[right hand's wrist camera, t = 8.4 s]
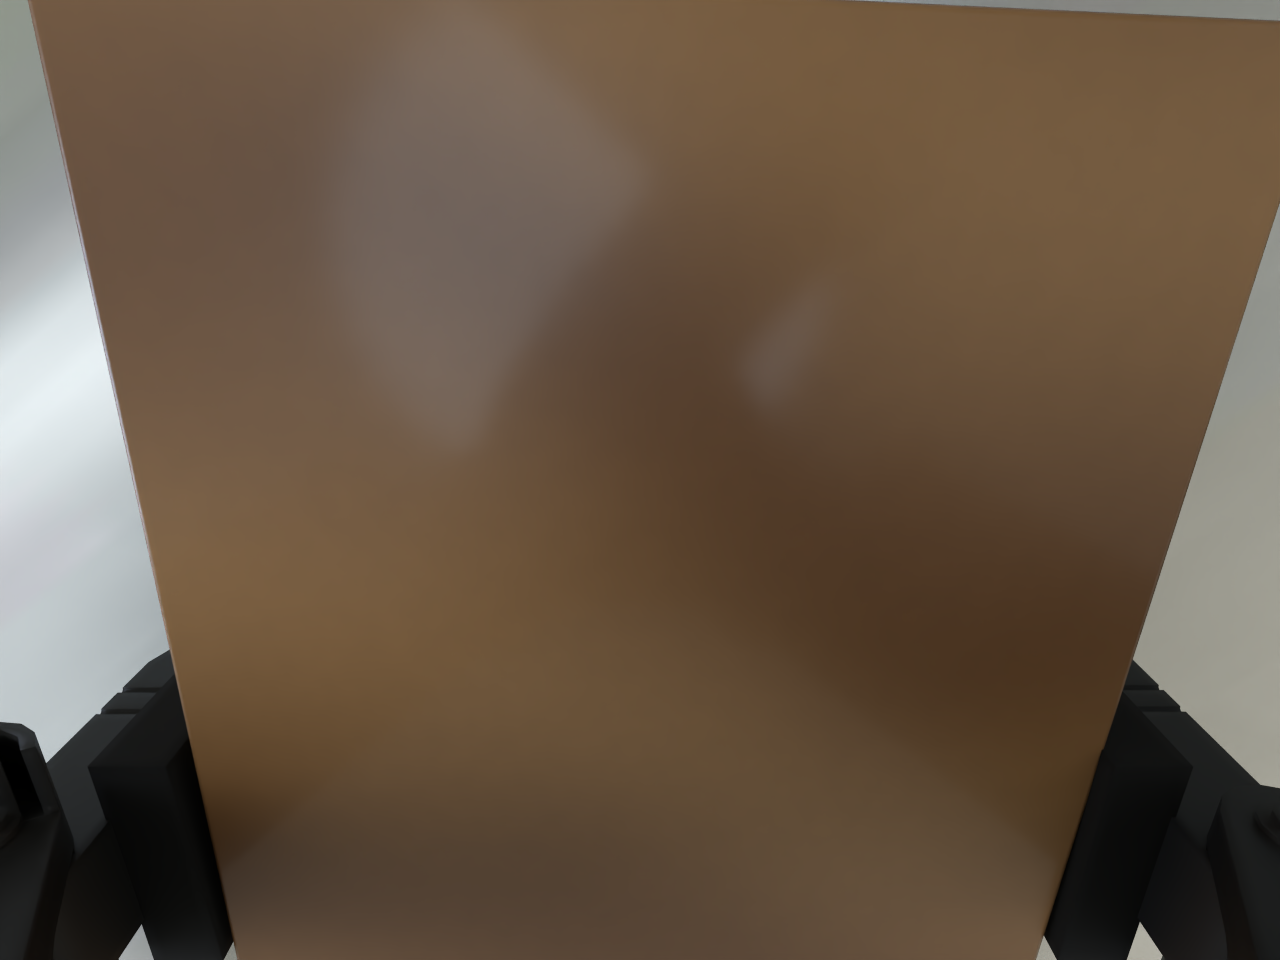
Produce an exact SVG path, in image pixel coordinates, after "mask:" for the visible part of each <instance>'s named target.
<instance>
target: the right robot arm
mask: <svg viewBox="0 0 1280 960" xmlns="http://www.w3.org/2000/svg"><path fill="white" fill-rule="evenodd" d="M1158 686H1159V685H1158V684H1157V683H1156V682H1155V681H1154V680H1153V679H1152V678H1151V677H1150V676H1149V675H1148V674H1147V673H1146V672H1145V671H1144V670H1143V669H1142V668H1141V667H1140V666H1139V665H1138V664H1137V663H1136V662H1135V661H1133V660H1132V663H1131V666H1130V669H1129V672H1128V675H1127V678H1126V681H1125V684H1124V687H1123V691H1122V694H1121V697H1120V700H1119V703H1118V706H1117V709H1116V712H1115V715H1114V719H1113V722H1112V725H1111V728H1110V731H1109V734H1108V737H1107V740H1106V743H1105V746H1104V749H1103V750H1102V751H1101V754H1100V758H1099V761H1098V765H1097V768H1096V771H1095V775H1094V778H1093V782H1092V785H1091V789H1090V792H1089V796H1088V799H1087V802H1086V805H1085V809H1084V812H1083V815H1082V818H1081V821H1080V824H1079V827H1078V830H1077V833H1076V837H1075V840H1074V843H1073V846H1072V849H1071V852H1070V855H1069V858H1068V861H1067V864H1066V868H1065V871H1064V874H1063V877H1062V880H1061V883H1060V886H1059V889H1058V892H1057V896H1056V899H1055V902H1054V905H1053V908H1052V911H1051V914H1050V917H1049V920H1048V923H1047V927H1046V930H1045V933H1044V936H1045V938H1046V940H1047V942H1048V944H1049V946H1050V948H1051V950H1052V951H1053V953H1054V955H1055V957H1056V959H1057V960H1127V957H1128V954H1129V951H1130V949H1131V946H1132V943H1133V940H1134V937H1135V934H1136V931H1137V928H1138V925H1139V923H1140V922H1141V924H1142V925H1143V927H1144V928H1145V930H1146V931H1147V933H1148V934H1149V936H1150V937H1151V939H1152V940H1153V942H1154V943H1155V945H1156V946H1157V948H1158V949H1159V951H1160V952H1161V954H1162V955H1163V956H1162V959H1161V960H1280V788H1275V787H1269V786H1264V785H1260V784H1259V783H1258V782H1257V781H1256V780H1255V779H1254V778H1253V777H1252V776H1251V775H1250V774H1249V773H1248V772H1247V771H1246V770H1245V769H1244V768H1243V767H1242V766H1241V765H1239V764H1238V763H1237V762H1236V761H1235V760H1234V759H1233V758H1232V757H1231V756H1230V755H1229V754H1228V753H1227V752H1226V751H1225V750H1224V749H1223V748H1222V747H1221V746H1220V745H1219V744H1218V743H1217V742H1216V741H1215V740H1214V739H1213V738H1212V737H1211V736H1210V735H1209V734H1208V733H1207V732H1206V731H1205V730H1204V729H1203V728H1202V727H1201V726H1200V725H1199V724H1198V723H1197V722H1196V721H1195V720H1194V719H1193V718H1192V717H1191V716H1190V715H1189V714H1188V713H1186V712H1181V710H1180V706H1179V705H1178V704H1177V703H1176V702H1175V701H1174V700H1173V699H1172V698H1171V697H1170V696H1169V695H1168V694H1167V693H1166V692H1165V691H1164V690H1159V687H1158ZM101 710H102V711H101V714H96V715H95V716H94V717H93V718H92V719H91V720H90V721H89V722H88V723H87V724H86V725H85V726H84V727H83V728H82V729H81V730H80V731H79V732H77V733H76V734H75V735H74V736H73V737H72V738H71V739H70V740H69V741H68V742H67V743H66V744H65V745H64V746H63V747H62V748H61V749H60V750H59V751H58V752H57V753H56V754H55V755H54V756H53V757H52V758H51V759H50V760H49V761H48V762H47V763H46V762H45V759H44V757H43V754H42V751H41V749H40V746H39V743H38V740H37V738H36V735H35V732H33V731H32V730H30V729H29V728H27V727H25V726H24V725H22V724H17V723H5V722H0V960H119V957H120V956H121V954H122V953H123V951H124V950H125V948H126V947H127V945H128V944H129V942H130V941H131V939H132V938H133V936H134V935H135V933H136V932H137V930H138V929H139V927H140V926H141V924H142V926H143V929H144V932H145V935H146V938H147V941H148V944H149V946H150V949H151V952H152V955H153V958H154V960H224V958H225V956H226V954H227V952H228V951H229V949H230V947H231V945H232V943H233V937H232V932H231V927H230V923H229V918H228V914H227V909H226V905H225V900H224V895H223V891H222V886H221V882H220V877H219V873H218V868H217V863H216V859H215V854H214V850H213V845H212V840H211V836H210V831H209V827H208V822H207V818H206V813H205V808H204V804H203V799H202V795H201V790H200V786H199V781H198V776H197V772H196V767H195V763H194V758H193V754H192V749H191V744H190V740H189V735H188V731H187V726H186V722H185V717H184V712H183V708H182V703H181V699H180V694H179V690H178V685H177V680H176V676H175V671H174V667H173V662H172V657H171V653H170V650H168V651H167V652H165V653H163V654H162V655H160V656H158V657H157V658H155V659H153V660H152V661H150V662H148V663H147V664H146V665H145V666H144V667H143V668H142V669H141V670H140V671H139V672H138V673H137V674H136V675H135V676H134V677H133V678H132V679H131V680H130V681H129V682H128V683H127V684H126V685H125V686H124V687H123V692H122V693H117V694H116V695H115V696H114V697H113V698H112V699H111V700H110V701H109V702H108V703H107V704H106V705H105V706H104V707H103V708H102V709H101Z"/></svg>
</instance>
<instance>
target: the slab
mask: <svg viewBox="0 0 1280 960" xmlns="http://www.w3.org/2000/svg"><path fill="white" fill-rule="evenodd" d="M28 3H29V8H30V12H31V17H32V22H33V26H34V31H35V35H36V40H37V44H38V49H39V54H40V58H41V63H42V67H43V72H44V76H45V81H46V86H47V90H48V95H49V99H50V104H51V108H52V113H53V118H54V122H55V127H56V131H57V136H58V141H59V145H60V150H61V154H62V159H63V163H64V168H65V173H66V177H67V182H68V186H69V191H70V195H71V200H72V205H73V209H74V214H75V218H76V223H77V227H78V232H79V237H80V241H81V246H82V250H83V255H84V259H85V264H86V269H87V273H88V278H89V282H90V287H91V291H92V296H93V301H94V305H95V310H96V314H97V319H98V324H99V328H100V333H101V337H102V342H103V346H104V351H105V356H106V360H107V365H108V369H109V374H110V378H111V383H112V388H113V392H114V397H115V401H116V406H117V410H118V415H119V420H120V424H121V429H122V433H123V438H124V442H125V447H126V452H127V456H128V461H129V465H130V470H131V474H132V479H133V484H134V488H135V493H136V497H137V502H138V507H139V511H140V516H141V520H142V525H143V529H144V534H145V539H146V543H147V548H148V552H149V557H150V561H151V566H152V571H153V575H154V580H155V584H156V589H157V593H158V598H159V603H160V607H161V612H162V616H163V621H164V625H165V630H166V635H167V639H168V644H169V648H170V653H171V657H172V662H173V667H174V671H175V676H176V680H177V685H178V690H179V694H180V699H181V703H182V708H183V712H184V717H185V722H186V726H187V731H188V735H189V740H190V744H191V749H192V754H193V758H194V763H195V767H196V772H197V776H198V781H199V786H200V790H201V795H202V799H203V804H204V808H205V813H206V818H207V822H208V827H209V831H210V836H211V840H212V845H213V850H214V854H215V859H216V863H217V868H218V873H219V877H220V882H221V886H222V891H223V895H224V900H225V905H226V909H227V914H228V918H229V923H230V927H231V932H232V937H233V941H234V946H235V950H236V955H237V959H238V960H1036V958H1037V955H1038V951H1039V948H1040V945H1041V942H1042V939H1043V936H1044V933H1045V930H1046V927H1047V923H1048V920H1049V917H1050V914H1051V911H1052V908H1053V905H1054V902H1055V899H1056V896H1057V892H1058V889H1059V886H1060V883H1061V880H1062V877H1063V874H1064V871H1065V868H1066V864H1067V861H1068V858H1069V855H1070V852H1071V849H1072V846H1073V843H1074V840H1075V837H1076V833H1077V830H1078V827H1079V824H1080V821H1081V818H1082V815H1083V812H1084V809H1085V805H1086V802H1087V799H1088V796H1089V792H1090V789H1091V785H1092V782H1093V778H1094V775H1095V771H1096V768H1097V765H1098V761H1099V758H1100V754H1101V751H1102V750H1103V749H1104V746H1105V743H1106V740H1107V737H1108V734H1109V731H1110V728H1111V725H1112V722H1113V719H1114V715H1115V712H1116V709H1117V706H1118V703H1119V700H1120V697H1121V694H1122V691H1123V687H1124V684H1125V681H1126V678H1127V675H1128V672H1129V669H1130V666H1131V663H1132V660H1133V656H1134V653H1135V650H1136V647H1137V644H1138V641H1139V638H1140V635H1141V632H1142V628H1143V625H1144V622H1145V619H1146V616H1147V613H1148V610H1149V607H1150V604H1151V601H1152V597H1153V594H1154V591H1155V588H1156V585H1157V582H1158V579H1159V576H1160V573H1161V569H1162V566H1163V563H1164V560H1165V557H1166V554H1167V551H1168V548H1169V545H1170V542H1171V538H1172V535H1173V532H1174V529H1175V526H1176V523H1177V520H1178V517H1179V514H1180V510H1181V507H1182V504H1183V501H1184V498H1185V495H1186V492H1187V489H1188V486H1189V483H1190V479H1191V476H1192V473H1193V470H1194V467H1195V464H1196V461H1197V458H1198V455H1199V451H1200V448H1201V445H1202V442H1203V439H1204V436H1205V433H1206V430H1207V427H1208V424H1209V420H1210V417H1211V414H1212V411H1213V408H1214V405H1215V402H1216V399H1217V396H1218V392H1219V389H1220V386H1221V383H1222V380H1223V377H1224V374H1225V371H1226V368H1227V365H1228V361H1229V358H1230V355H1231V352H1232V349H1233V346H1234V343H1235V340H1236V337H1237V333H1238V330H1239V327H1240V324H1241V321H1242V318H1243V315H1244V312H1245V309H1246V306H1247V302H1248V299H1249V296H1250V293H1251V290H1252V287H1253V284H1254V281H1255V278H1256V274H1257V271H1258V268H1259V265H1260V262H1261V259H1262V256H1263V253H1264V250H1265V247H1266V243H1267V240H1268V237H1269V234H1270V231H1271V228H1272V225H1273V222H1274V219H1275V215H1276V212H1277V209H1278V206H1279V203H1280V21H1274V20H1253V19H1232V18H1212V17H1191V16H1170V15H1149V14H1128V13H1107V12H1086V11H1065V10H1044V9H1023V8H1002V7H981V6H961V5H940V4H919V3H898V2H877V1H856V0H28Z"/></svg>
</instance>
